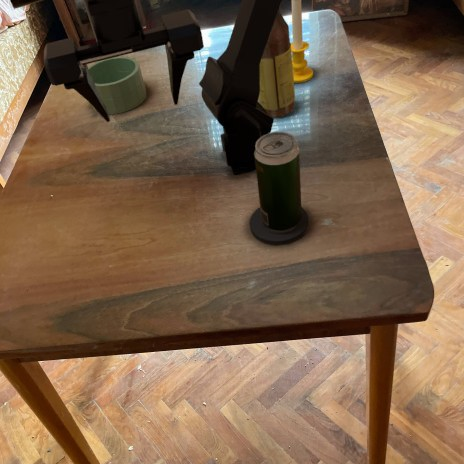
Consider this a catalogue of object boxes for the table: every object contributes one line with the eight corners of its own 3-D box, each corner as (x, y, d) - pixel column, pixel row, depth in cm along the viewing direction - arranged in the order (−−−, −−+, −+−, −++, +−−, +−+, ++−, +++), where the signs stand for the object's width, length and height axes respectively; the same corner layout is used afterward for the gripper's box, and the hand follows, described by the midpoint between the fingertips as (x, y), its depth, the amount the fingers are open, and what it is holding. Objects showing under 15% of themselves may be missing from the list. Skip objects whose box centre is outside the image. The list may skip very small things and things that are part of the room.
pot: (143, 79, 102) (135, 51, 98) (150, 105, 95) (142, 76, 91) (90, 92, 102) (80, 64, 97) (94, 119, 95) (83, 91, 91)
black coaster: (297, 199, 74) (297, 195, 73) (316, 236, 69) (316, 231, 68) (243, 213, 73) (243, 209, 73) (258, 251, 68) (258, 247, 68)
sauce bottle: (293, 97, 91) (287, -31, 75) (297, 116, 87) (292, -15, 71) (256, 102, 91) (243, -24, 76) (258, 122, 87) (245, -7, 72)
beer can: (277, 240, 68) (271, 163, 59) (254, 220, 71) (244, 143, 62) (310, 221, 69) (308, 143, 60) (285, 202, 72) (280, 125, 63)
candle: (280, 81, 95) (274, -13, 83) (291, 67, 97) (287, -26, 85) (306, 84, 93) (304, -11, 81) (317, 70, 95) (317, -25, 83)
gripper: (174, -59, 63) (198, 68, 75) (22, -23, 62) (71, 99, 74) (191, -29, 55) (214, 106, 68) (20, 12, 55) (74, 141, 67)
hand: (142, 111), depth 69 cm, fingers open, 9 cm apart
